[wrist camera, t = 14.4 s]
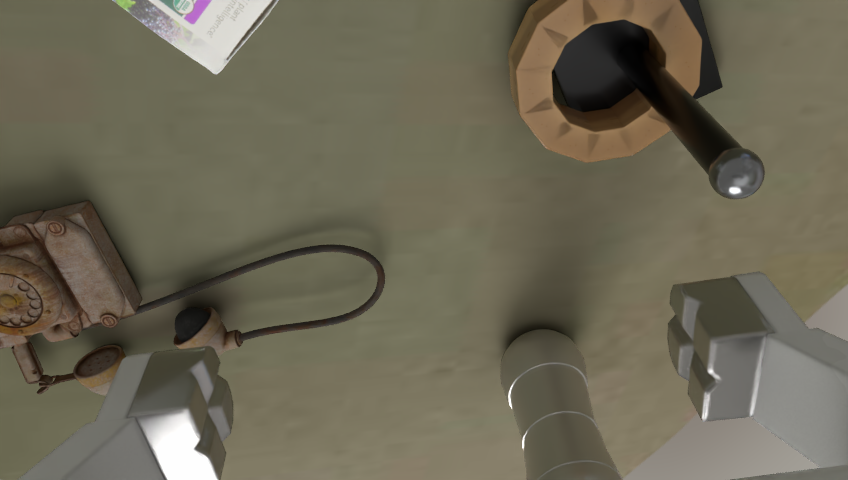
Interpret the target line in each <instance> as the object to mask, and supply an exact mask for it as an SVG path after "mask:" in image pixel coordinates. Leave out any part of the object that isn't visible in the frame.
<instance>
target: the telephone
mask: <svg viewBox="0 0 848 480" xmlns="http://www.w3.org/2000/svg"><path fill="white" fill-rule="evenodd" d="M319 252H343V253H349V254H353V255H357V256H359V257H362V258H364V259H366V260H368V261H369V262H370V263H371V264H372V265H373V266H374V268H375V269H376V272H377V276H378V282H377V287H376V289H375V292H374V293H373V295H372V296H371V298H370V299H369V300H368V301H367V302H366V303H365V304H363V305H362V306H360V307H359V308H357V309H355V310H353V311H351V312H349V313H346V314H344V315H340V316H337V317H332V318H327V319H322V320H316V321H309V322H301V323H293V324H286V325H279V326H273V327H267V328H262V329H257V330H253V331H250V332H246V333H243V334H241V332H240V331H238V330H234V331H229V332H227V330H226V328H225V326H224V324H223V322H222V321H221V317H220V316H219V315H218V313H217V312H216V311H215V310H214V309H213V308H211V307H207V308H204V309H199V308H186V309H184V310H182V311H181V312H180V313H179V314H178V315H177V317H176V319H175V330H176V336H175V338H174V345H175V346H177V347H178V348H179V349H185V348H194V347H203V346H211V347H213V348H214V349H215V351H216V353H217V356H220V355H221V354H222V353H223V352H224V351H227V350H230V349H234V348H237V347H240V346H241V344H242V343H243V341H244V340H247V339H251V338H254V337H258V336H263V335H268V334H274V333H280V332H287V331H294V330H302V329H309V328H316V327H323V326H328V325H333V324H337V323H341V322H345V321H348V320H350V319H353V318H355V317H357V316H359V315H361V314H362V313H364V312H365V311H367V310H368V309H369V308H370V307H372V306H373V305H374V303H375V302H376V301H377V300H378V298H379V297H380V295H381V293H382V291H383V288H384V284H385V274H384V270H383V267H382V265H381V264H380V262H379V261H378V260H377V259H376V258H375V257H374V256H373V255H371V254H370V253H368V252H366V251H364V250H361V249H358V248H355V247H350V246H345V245H318V246H310V247H305V248H300V249H295V250H291V251H288V252H284V253H280V254H277V255H274V256H271V257H268V258H264V259H262V260H259V261H256V262H253V263H250V264H247V265H245V266H242V267H239V268H237V269H234V270H232V271H229V272H226V273H224V274H221V275H219V276H216V277H214V278H211V279H209V280H206V281H204V282H201V283H199V284H196V285H194V286H191V287H189V288H186V289H184V290H181V291H179V292H176V293H173V294H171V295H168V296H166V297H163V298H160V299H158V300H155V301H152V302H150V303H147V304H144V305H141V306H139V304H140V303H141V301H142V297H141V295H140V293H139V292H138V290H137V288H136V286H135V284H134V282H133V280H132V279H131V277H130V275H129V273H128V271H127V269H126V267H125V265H124V264H123V262H122V260H121V258H120V256H119V254H118V252H117V251H116V249H115V247H114V245H113V243H112V241H111V239H110V237H109V236H108V234H107V232H106V230H105V228H104V226H103V224H102V223H101V221H100V219H99V217H98V215H97V213H96V211H95V209H94V208H93V206H92V204H91V202H90V201H85V202H81V203H77V204H73V205H68V206H64V207H60V208H56V209H52V210H48V211H45V212H44V211H43V210H38V211H34V212H30V213H26V214H22V215H17V216H14V217H13V218H12V219H11V220H10V221H9V222H8V223H7V225H6V226H5V227H1V228H0V349H1V348H6V347H10V346H13V347H12V348H11V349H12V351H13V353H14V356H15V358H16V360H17V362H18V365H19V367H20V369H21V371H22V373H23V376H24V378H25V380H26V382H27V383H29V384H34V383H39V386H40V387H41V388H40V389H39V390H38V391H37V394H41V393H43V392H45V391H46V390H48V388H49V387H50V386H52V385H55V384H57V383H60V382H64V381H69V380H73V379H76V380H78V381H79V382H80V383H81V384H82V385H83V386H85V387H86V388H88V389H89V390H91V391H92V392H94V393H97V394H100V395H107V393H108V390H109V388H110V386H111V384H112V381H113V379H114V377H115V374H116V372H117V370H118V368H119V365H120V363H121V361H122V360H123V359H124V358H125V357H126V356H125V354H124V352H123V349H122V348H121V347H120V346H117V345H107V346H103V347H100V348H97V349H95V350H93V351H91V352H90V353H88V354H87V355H85V356H84V357H83V358H82V359H81V360H80V361H78V363H77V364H76V365H75V367H74V370H73V373H71V374H67V375H61V376H60V375H56V376H52V377H51V376H48V375H42V374H43V368H42V366H41V364H40V361H39V359H38V357H37V354H36V352H35V350H34V347H33V345H32V343H31V342H30V341H29V339H30V337H31V336H32V335H33V334H37V333H40V332H42V333H43V335H44V336H45V338H46V339H47V340H49V341H51V342H56V341H61V340H65V339H70V338H74V337H77V336H78V334H79V332H80V331H82V330H86V329H90V328H93V327H97V326H101V325H103V326H105V327H108V328H113V327H115V326H116V325H117V323H118V322H119V320H121V319H124V318H127V317H130V316H133V315H136V314H139V313H142V312H145V311H148V310H151V309H153V308H156V307H159V306H161V305H164V304H167V303H169V302H172V301H175V300H177V299H180V298H182V297H185V296H188V295H190V294H193V293H195V292H198V291H200V290H203V289H205V288H208V287H210V286H213V285H215V284H218V283H220V282H223V281H226V280H228V279H231V278H233V277H236V276H238V275H241V274H244V273H246V272H249V271H252V270H254V269H257V268H260V267H263V266H266V265H269V264H272V263H275V262H278V261H281V260H285V259H288V258H292V257H296V256H301V255H306V254H311V253H319ZM53 378H55V380H54V382H53ZM52 382H53V383H52Z"/></svg>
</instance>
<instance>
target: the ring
mask: <svg viewBox="0 0 848 480" xmlns="http://www.w3.org/2000/svg"><path fill="white" fill-rule="evenodd" d="M623 19H625V20H627V21H629V22H632V23H634V24H637V25H639V26H642V27H643V29H644V30H645V32H646V34H647V35H648V37H649V52H650V53H651V54H652V55H653V56H654V57H655V58H656V59H657V61H658V62H659V63H660V64H661V65H662V66H663V67H664V68H665V69H666V70H667V71H668V72H669V73H670V74H671V75H672V76H673V77H674V78H675V79H676V80H677V81H678V82H679V83H680V84H681V85H682V86H683V87H684V88H685V89H686V90H687V91H688V92H689V93H690V94H691V95H692V96H693V95H694V93H695V92H696V90H697V88H698V86H699V80H700V64H701V48H702V39H701V36H700V34H699V33H698V31H697V29H696V28H695V26H694V24H693V23H692V21H691V19H690V17H689V16H688V14H687V12H686V11H685V9H684V7H683V6H682V4H681V2H680V0H538V1H537V2H535V3H534V4H533V5H531V6H530V7H529V9H528V10H527V12H526V14H525V17H524V19H523V21H522V23H521V25H520V27H519V30H518V32H517V34H516V36H515V38H514V41H513V43H512V45H511V47H510V49H509V52H508V61H509V72H510V83H511V94H512V98H513V100H514V103H515V105H516V107H517V110H518V112H519V115H520V116H521V118H522V119H523V120H524V121H525V123H526V124H527V125H528V127H529V128H530V129H531V130H532V132H533V133H534V134H535V135H536V137H537V138H538V139H539V141H540V142H541V143H542V144H543V146H544V147H545V148H546V149H549V150H551V151H554V152H557V153H560V154H563V155H566V156H569V157H571V158H574V159H577V160H580V161H583V162H586V163H587V162H595V161H601V160H607V159H613V158H620V157H626V156H632V155H634V154H636V153H637V152H639V151H640V150H642V149H643V148H645V147H646V146H648V145H649V144H651V143H652V142H654V141H655V140H657V139H658V138H660V137H661V136H663V135H664V134H666V133H667V132H669V131H670V130H671V129H670V128H669V127H668V126H667V124H666V123H665V122H664V121H663V119H662V118H661V117H660V116H659V115H658V113H657V112H656V111H655V110H654V109H653V107H652V106H651V105H650V104H649V102H648V101H647V100H646V99H645V98H644V96H643V95H642V94H641V93H640V92H639V90H638V89H637V88H636V90H635V91H634V92H632V93H631V94H629V95H628V96H627V97H625V98H624V99H622V100H621V101H619V102H618V103H617V104H615V105H614V106H612V107H611V108H608V109H602V110H595V111H589V112H581V111H578V110H575V109H572V108H570V107H567V106H564V105H562V104H559V103H558V102H557V100H556V99H555V98H554V96H553V86H552V71H553V69H554V67H555V65H556V63H557V61H558V59H559V57H560V55H561V53H562V50H563V48H564V46H565V44H567V43H568V42H569V41H571V40H572V39H573V38H575V37H576V36H578V35H579V34H580V33H582V32H583V31H584V30H586V29H587V28H588V27H590V26H591V25H592V24H598V23H604V22H610V21H617V20H623Z"/></svg>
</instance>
